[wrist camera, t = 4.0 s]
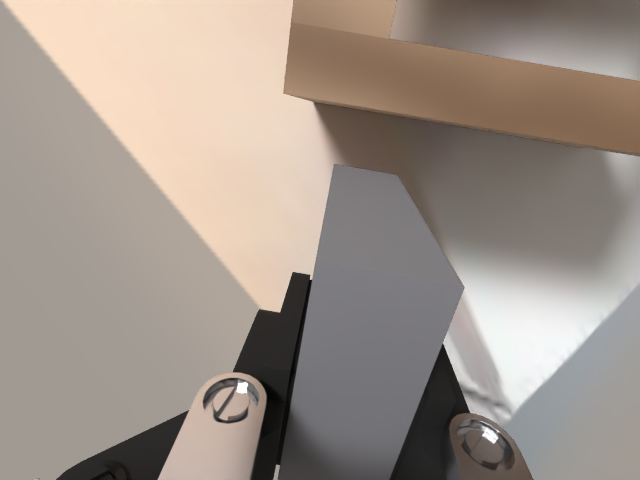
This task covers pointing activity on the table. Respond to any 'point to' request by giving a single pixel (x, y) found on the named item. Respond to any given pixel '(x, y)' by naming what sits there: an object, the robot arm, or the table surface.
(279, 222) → the table surface
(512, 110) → the stand
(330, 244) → the grey piece
